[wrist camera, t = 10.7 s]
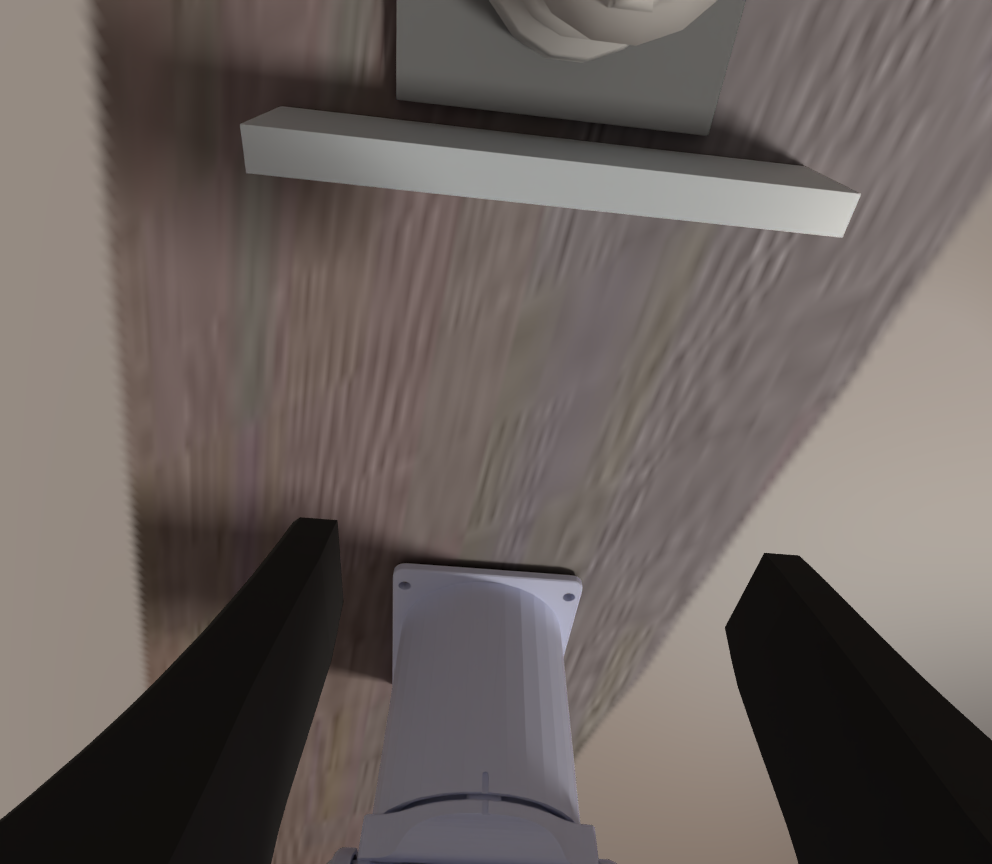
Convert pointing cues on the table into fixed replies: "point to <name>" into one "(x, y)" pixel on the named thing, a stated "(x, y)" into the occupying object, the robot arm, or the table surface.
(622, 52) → the charcoal pad
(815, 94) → the table surface
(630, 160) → the grey acrylic wall
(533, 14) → the rook chess piece
